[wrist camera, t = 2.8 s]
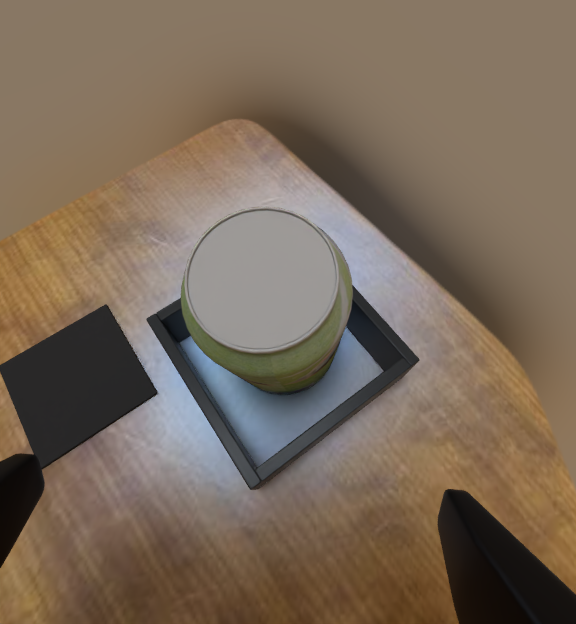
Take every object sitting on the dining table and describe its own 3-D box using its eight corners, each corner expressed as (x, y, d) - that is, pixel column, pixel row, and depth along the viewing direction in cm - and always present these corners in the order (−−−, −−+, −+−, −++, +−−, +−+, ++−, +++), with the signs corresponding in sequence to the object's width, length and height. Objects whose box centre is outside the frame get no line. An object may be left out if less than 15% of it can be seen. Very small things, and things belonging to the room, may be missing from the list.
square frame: (402, 377, 22) (420, 359, 19) (257, 489, 20) (250, 490, 17) (299, 257, 26) (299, 225, 23) (165, 341, 23) (145, 318, 20)
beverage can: (335, 306, 24) (368, 161, 13) (331, 426, 21) (370, 364, 10) (237, 300, 25) (191, 153, 14) (220, 417, 22) (143, 348, 11)
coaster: (157, 393, 22) (156, 392, 22) (42, 469, 21) (39, 469, 20) (107, 305, 25) (105, 304, 24) (0, 367, 23) (-3, 366, 23)
